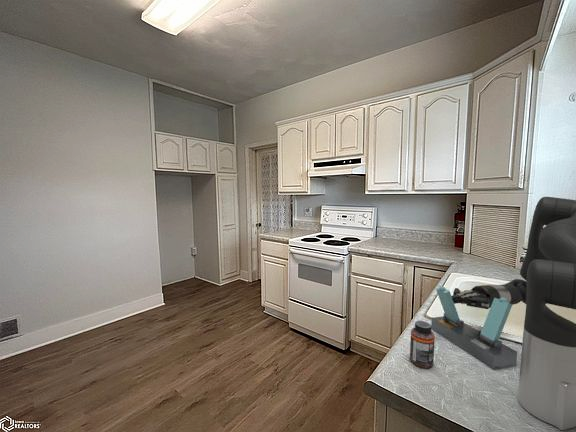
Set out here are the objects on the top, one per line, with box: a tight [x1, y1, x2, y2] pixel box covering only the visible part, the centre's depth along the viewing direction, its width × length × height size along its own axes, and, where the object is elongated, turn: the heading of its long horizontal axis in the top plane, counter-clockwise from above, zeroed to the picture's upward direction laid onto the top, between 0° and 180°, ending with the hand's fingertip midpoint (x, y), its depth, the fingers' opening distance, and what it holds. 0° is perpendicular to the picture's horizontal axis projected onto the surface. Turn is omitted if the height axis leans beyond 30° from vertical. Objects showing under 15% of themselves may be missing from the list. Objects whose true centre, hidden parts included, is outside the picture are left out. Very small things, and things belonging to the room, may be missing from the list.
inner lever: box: [479, 297, 513, 346], centre depth 75 cm, size 4×2×14 cm, turn 13°
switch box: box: [430, 312, 518, 370], centre depth 81 cm, size 22×8×6 cm, turn 13°
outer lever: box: [435, 285, 461, 325], centre depth 86 cm, size 4×2×14 cm, turn 13°
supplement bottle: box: [409, 320, 436, 369], centre depth 72 cm, size 6×6×11 cm
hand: (449, 299), depth 86 cm, fingers closed
